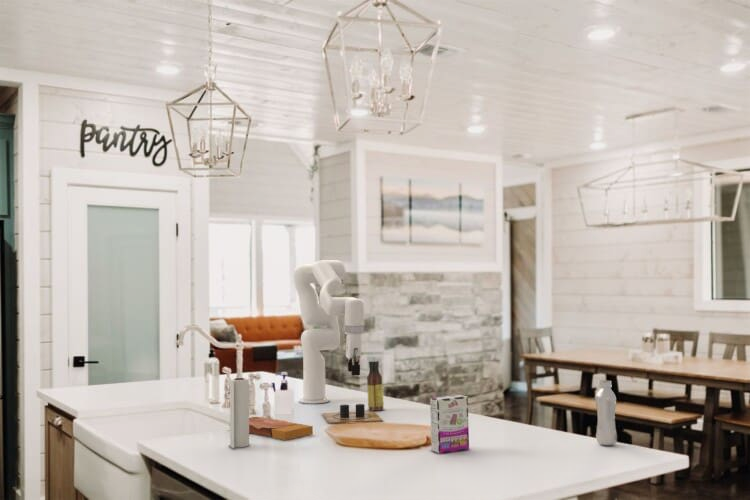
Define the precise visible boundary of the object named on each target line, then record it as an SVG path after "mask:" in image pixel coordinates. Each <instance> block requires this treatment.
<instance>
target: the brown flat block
mask: <svg viewBox="0 0 750 500" xmlns="http://www.w3.org/2000/svg"><path fill="white" fill-rule="evenodd" d="M313 428H314V426H313V425H309V424H303V423H297V422H292V421H287V420H279V419H273V418H270V417H261V416H252V417H249V434H253V435H257V436H262V437H269V438H273V439H278V440H283V441H287V440H291V439H296V438H300V437H305V436H310V435H313V434H314V433H313V432H314V430H313Z"/></svg>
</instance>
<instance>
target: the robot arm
mask: <svg viewBox="0 0 750 500" xmlns="http://www.w3.org/2000/svg"><path fill="white" fill-rule="evenodd" d="M346 271H347V270H346V266H345V263H344V262H342V261H341V260H339V259H338V260H337V259H321V260H317V261H315V262H314V263H312V264H311V263H306V264H300V265H298V266H296V267H295V268H294V273H293V283H294V287H295V290H296V293H297V296H298V300H299V301H298V302H299V308H300V316H301V321H302V324H303V325H304V326H305V327H323V328H309V329H306V330H304V331H303V332H301V335H300V343H301V349H302V350H301V351H302V364H303V365H302V367H303V368H302V369H303V372H302V373H303V376H302V377H303V378H302V379H303V380H302V381H303V382H302V383H303V397H301V398H300V399H299V403H301V404H311V405H313V404H314V405H315V404H317V405H318V404H324V403H328V402H329V401H330V398H329V397H326V360H325V357H324V355H323V354H322V352H321V351H331V350H336V349H338V348H340V345H341V331H340V326H339V318H338V317H343V316H344V334H345V335H346V337H345V338H346V339H345V358H346V359H347V360H348V361H347V372H349V373H350V372H351V376H360V375H361V362H360V361H361V359H362V335H364V334H365V301H364V300H363V299H362V298H357V297H354V296H333V295H334V294H336V293H338V292H339V291H340V289H341V288H342V280H343V279H344V278H345V276H346ZM311 284H318V285H319V286H320V288H321V289H320V291H319V294H318V292H317V291H316V289H315V288H314V287H313V286H312V285H311ZM332 296H333V297H332Z"/></svg>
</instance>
